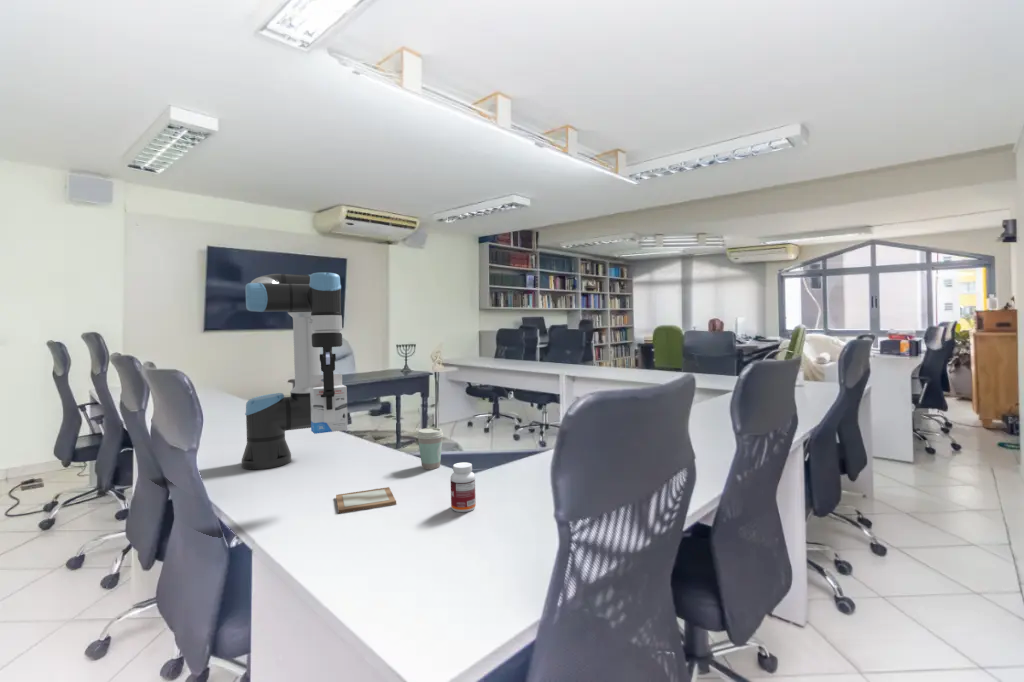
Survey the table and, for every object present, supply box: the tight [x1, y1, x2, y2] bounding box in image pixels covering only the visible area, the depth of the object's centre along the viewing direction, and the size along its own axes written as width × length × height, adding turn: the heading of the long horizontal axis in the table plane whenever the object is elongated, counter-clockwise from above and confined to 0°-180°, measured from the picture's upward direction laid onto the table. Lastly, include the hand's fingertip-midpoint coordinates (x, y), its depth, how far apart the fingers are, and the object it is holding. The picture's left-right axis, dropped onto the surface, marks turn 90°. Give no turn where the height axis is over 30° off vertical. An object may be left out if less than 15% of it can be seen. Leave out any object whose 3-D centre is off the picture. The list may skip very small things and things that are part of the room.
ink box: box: [310, 373, 349, 435], centre depth 126 cm, size 8×5×15 cm, turn 122°
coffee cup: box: [416, 427, 444, 470], centre depth 156 cm, size 8×9×12 cm
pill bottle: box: [450, 462, 477, 513], centre depth 120 cm, size 6×6×11 cm
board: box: [335, 486, 397, 514], centre depth 126 cm, size 12×14×1 cm
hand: (329, 419), depth 126 cm, fingers closed on ink box, 5 cm apart
